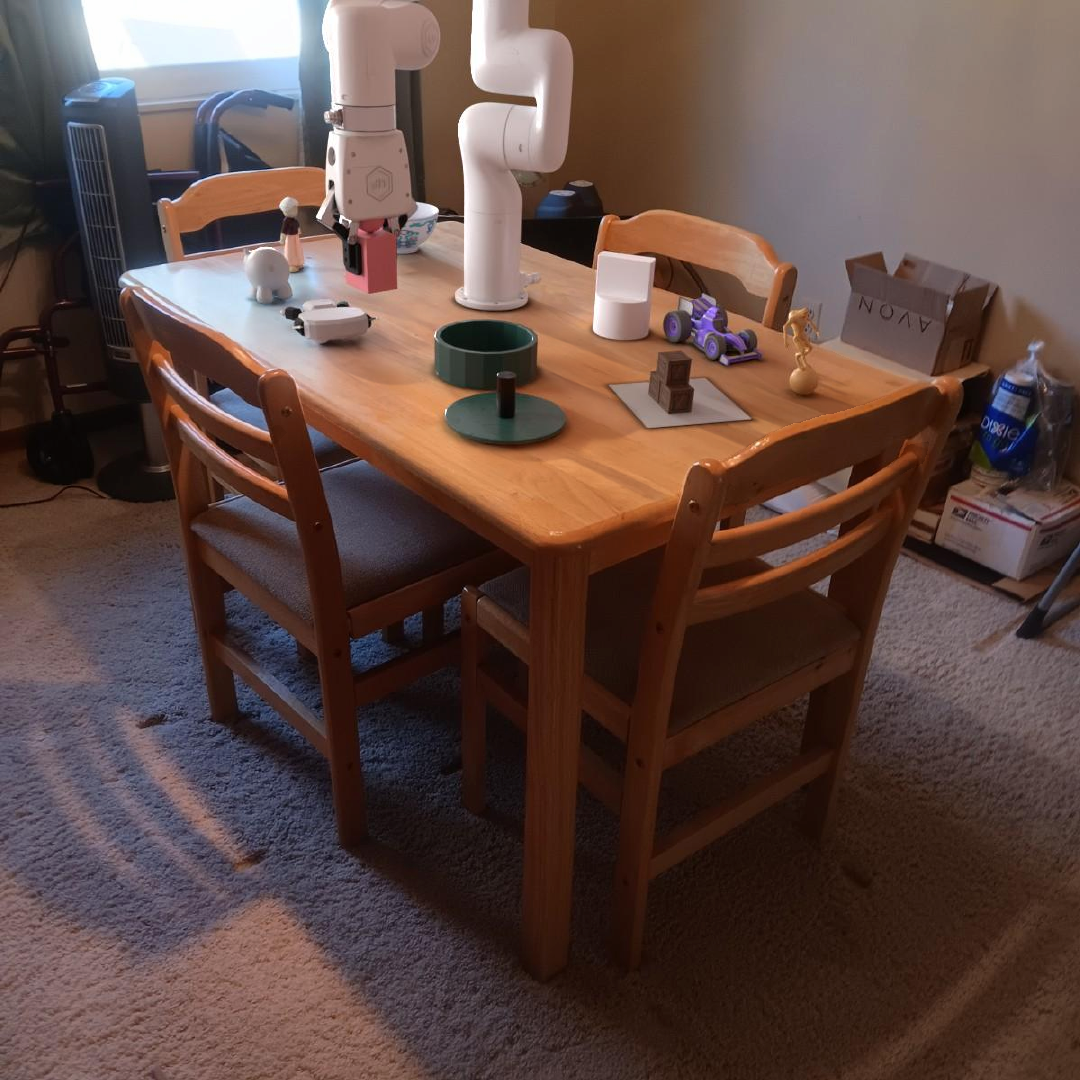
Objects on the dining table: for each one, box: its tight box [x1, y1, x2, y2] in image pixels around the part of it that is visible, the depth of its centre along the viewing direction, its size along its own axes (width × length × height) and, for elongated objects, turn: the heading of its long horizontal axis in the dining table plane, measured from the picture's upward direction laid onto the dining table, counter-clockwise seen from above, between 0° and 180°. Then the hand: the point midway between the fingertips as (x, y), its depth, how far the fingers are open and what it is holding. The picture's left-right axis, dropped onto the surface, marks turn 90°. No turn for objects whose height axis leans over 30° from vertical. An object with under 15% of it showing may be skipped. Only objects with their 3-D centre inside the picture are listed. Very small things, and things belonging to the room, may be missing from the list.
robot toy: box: [279, 298, 380, 345], centre depth 155 cm, size 12×4×15 cm
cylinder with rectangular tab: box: [592, 250, 657, 341], centre depth 161 cm, size 9×9×12 cm
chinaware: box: [380, 201, 440, 255], centre depth 199 cm, size 15×15×8 cm
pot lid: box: [444, 371, 567, 445], centre depth 129 cm, size 16×16×7 cm
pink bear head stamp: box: [345, 218, 398, 295], centre depth 129 cm, size 5×6×12 cm
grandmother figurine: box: [279, 196, 306, 273], centre depth 183 cm, size 8×4×13 cm, turn 179°
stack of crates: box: [608, 349, 752, 429], centre depth 137 cm, size 15×15×7 cm
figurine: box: [782, 308, 821, 396], centre depth 141 cm, size 8×6×12 cm
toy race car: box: [662, 292, 763, 366], centre depth 157 cm, size 10×15×6 cm, turn 30°
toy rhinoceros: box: [242, 245, 293, 304], centre depth 170 cm, size 7×12×8 cm, turn 34°
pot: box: [433, 318, 539, 391], centre depth 144 cm, size 15×15×5 cm
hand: (370, 268), depth 131 cm, fingers closed on pink bear head stamp, 4 cm apart
